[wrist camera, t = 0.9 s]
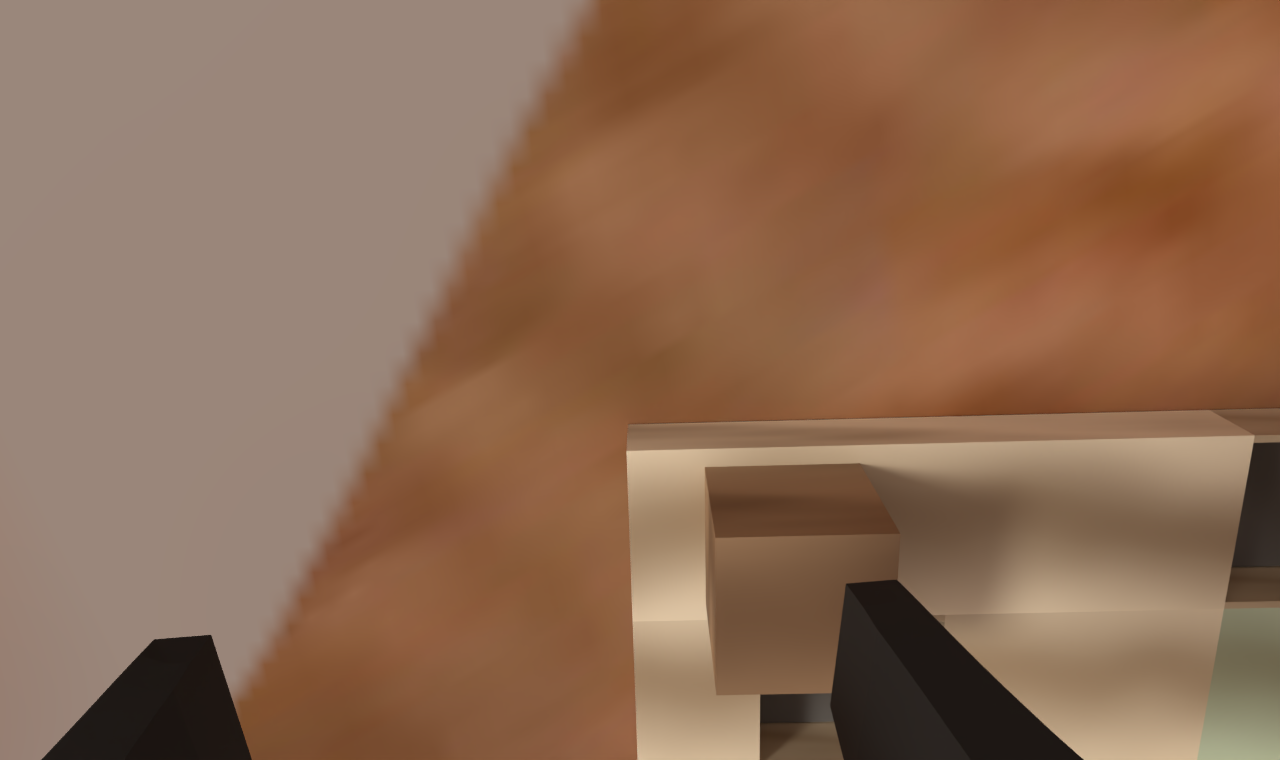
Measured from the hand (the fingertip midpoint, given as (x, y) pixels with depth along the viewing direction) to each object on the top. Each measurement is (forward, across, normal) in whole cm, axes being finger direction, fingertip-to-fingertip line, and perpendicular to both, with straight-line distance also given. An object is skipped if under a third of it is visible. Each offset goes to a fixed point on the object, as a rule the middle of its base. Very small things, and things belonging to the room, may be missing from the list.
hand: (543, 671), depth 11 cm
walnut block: (+11, -6, +7) cm, 15 cm away
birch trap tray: (+12, -13, +10) cm, 20 cm away
